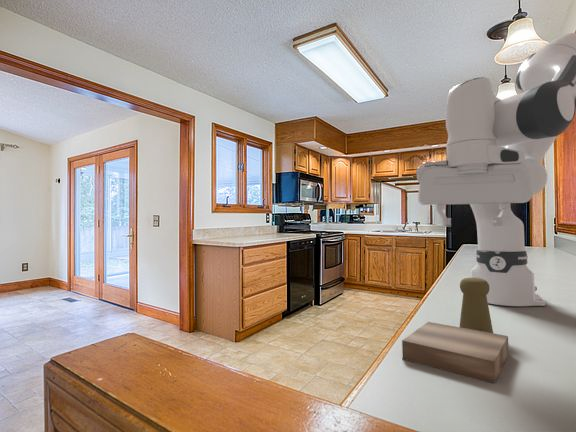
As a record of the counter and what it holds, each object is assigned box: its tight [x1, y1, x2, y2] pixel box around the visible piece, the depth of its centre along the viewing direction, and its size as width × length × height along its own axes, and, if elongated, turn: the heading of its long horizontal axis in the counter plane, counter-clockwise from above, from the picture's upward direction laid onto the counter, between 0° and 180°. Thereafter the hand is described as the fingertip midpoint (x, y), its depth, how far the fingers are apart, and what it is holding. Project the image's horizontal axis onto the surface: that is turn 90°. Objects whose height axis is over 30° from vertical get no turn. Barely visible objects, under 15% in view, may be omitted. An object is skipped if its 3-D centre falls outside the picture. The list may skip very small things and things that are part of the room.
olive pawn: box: [459, 277, 494, 333], centre depth 65 cm, size 6×6×11 cm
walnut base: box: [401, 321, 509, 384], centre depth 54 cm, size 13×13×3 cm
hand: (472, 226), depth 65 cm, fingers open, 8 cm apart
